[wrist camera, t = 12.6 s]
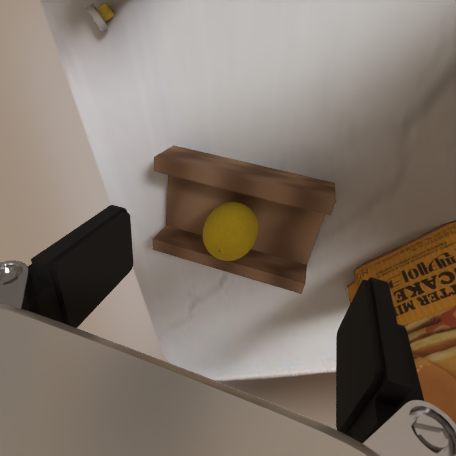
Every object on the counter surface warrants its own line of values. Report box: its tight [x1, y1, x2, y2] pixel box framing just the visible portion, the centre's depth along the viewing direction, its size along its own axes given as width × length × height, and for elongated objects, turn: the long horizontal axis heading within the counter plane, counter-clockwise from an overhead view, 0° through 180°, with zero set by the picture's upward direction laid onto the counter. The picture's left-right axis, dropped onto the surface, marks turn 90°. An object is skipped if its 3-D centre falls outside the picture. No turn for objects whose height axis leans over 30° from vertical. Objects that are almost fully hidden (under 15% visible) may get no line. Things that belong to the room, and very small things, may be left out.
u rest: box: [153, 146, 336, 294], centre depth 33 cm, size 18×12×5 cm, turn 82°
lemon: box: [203, 202, 258, 261], centre depth 31 cm, size 6×6×8 cm
